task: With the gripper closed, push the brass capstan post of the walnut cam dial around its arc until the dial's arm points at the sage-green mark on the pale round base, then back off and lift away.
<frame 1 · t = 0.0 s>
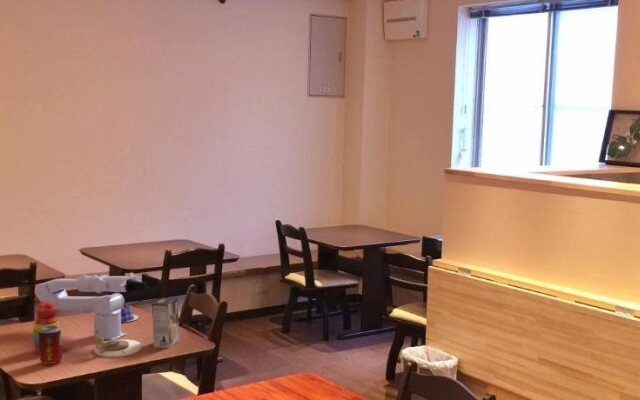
hand: (152, 283, 276), 22 cm above the table, tool horizontal, fingers open, 7 cm apart
blue checkered cloth: (123, 320, 309), on the table
stacking bear: (48, 351, 270), on the table
soda can: (51, 363, 257), on the table
cam dial: (111, 340, 268), point 4 cm above the table, hinge at 0.0°
coffee box: (166, 344, 277), on the table
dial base: (117, 349, 271), on the table
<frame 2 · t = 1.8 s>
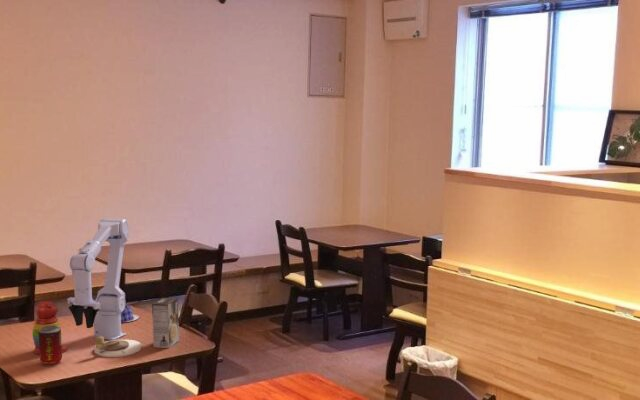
hand: (84, 326, 267), 9 cm above the table, tool pointing down, fingers open, 5 cm apart
nothing on the table moved.
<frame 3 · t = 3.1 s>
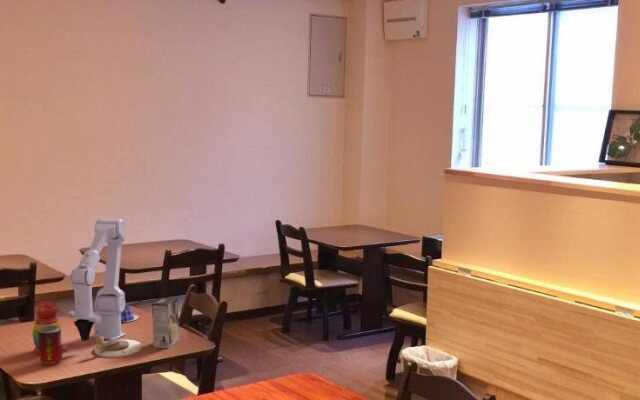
hand: (85, 340, 267), 4 cm above the table, tool pointing down, fingers closed
nothing on the table moved.
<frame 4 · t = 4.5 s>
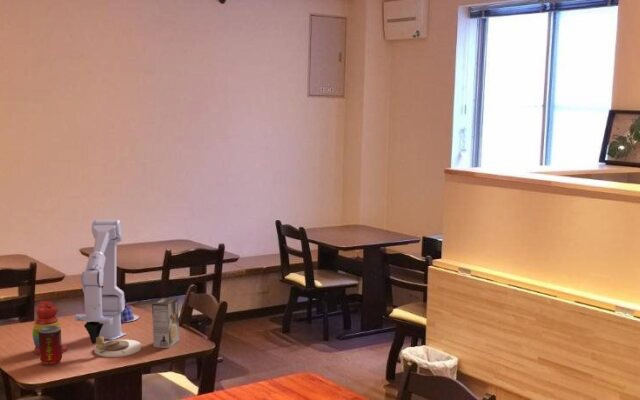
hand: (94, 342, 264), 4 cm above the table, tool pointing down, fingers closed
cam dial: (111, 340, 268), point 4 cm above the table, hinge at 0.6°, touching gripper
everything else where it was.
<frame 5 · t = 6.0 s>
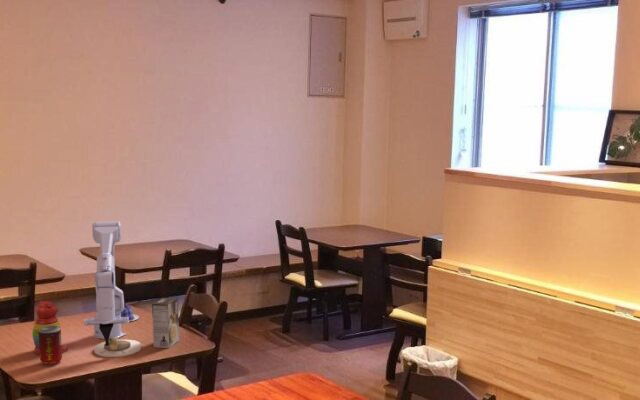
hand: (107, 345, 262), 4 cm above the table, tool pointing down, fingers closed
cam dial: (116, 341, 267), point 4 cm above the table, hinge at 37.7°, touching gripper
everything else where it was.
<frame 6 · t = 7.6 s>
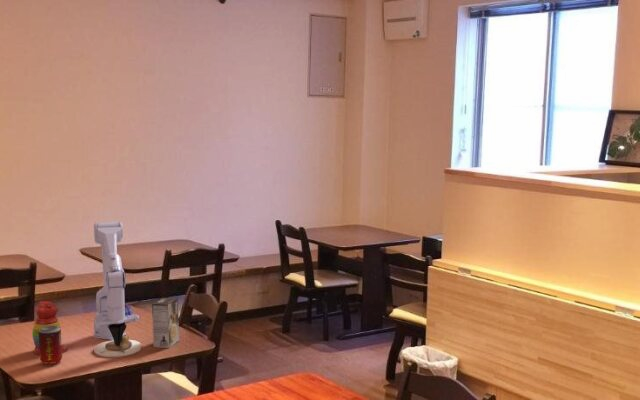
hand: (117, 344, 262), 4 cm above the table, tool pointing down, fingers closed
cam dial: (120, 340, 268), point 4 cm above the table, hinge at 65.3°
everything else where it was.
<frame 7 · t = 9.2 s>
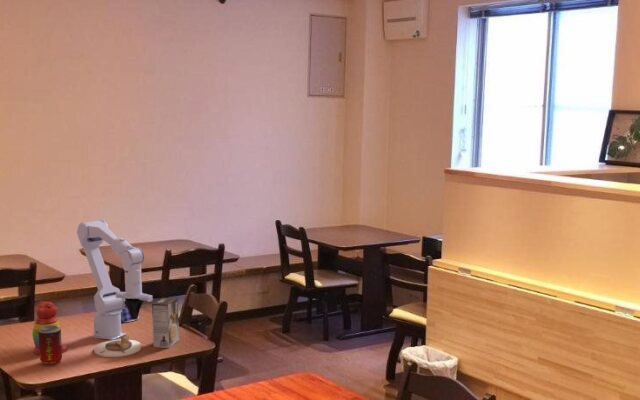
hand: (134, 319, 276), 9 cm above the table, tool pointing down, fingers closed
nothing on the table moved.
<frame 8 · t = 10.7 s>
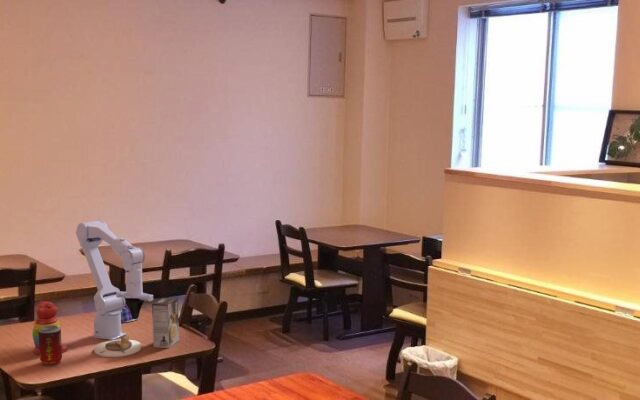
hand: (135, 318, 276), 9 cm above the table, tool pointing down, fingers closed
nothing on the table moved.
at the end: cam dial at +65° (first picture: +0°) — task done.
